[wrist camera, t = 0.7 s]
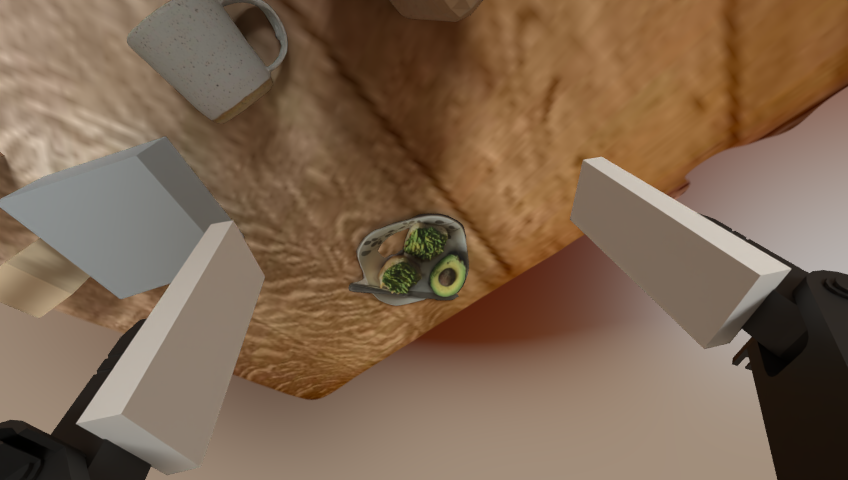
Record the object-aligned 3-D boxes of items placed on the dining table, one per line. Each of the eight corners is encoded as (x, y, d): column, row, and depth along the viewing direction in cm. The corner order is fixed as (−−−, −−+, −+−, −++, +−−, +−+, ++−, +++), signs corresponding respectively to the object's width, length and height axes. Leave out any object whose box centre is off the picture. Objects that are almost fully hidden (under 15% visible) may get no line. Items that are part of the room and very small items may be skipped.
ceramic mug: (231, 117, 33) (204, 140, 27) (155, 38, 28) (102, 44, 22) (310, 58, 32) (301, 68, 25) (244, -36, 27) (213, -52, 21)
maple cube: (19, 255, 38) (-30, 290, 33) (50, 230, 37) (5, 262, 32) (75, 283, 41) (39, 318, 37) (106, 261, 40) (72, 294, 35)
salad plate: (362, 313, 55) (363, 335, 51) (328, 232, 44) (325, 252, 40) (469, 287, 56) (477, 306, 52) (460, 201, 45) (470, 218, 41)
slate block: (45, 175, 34) (-7, 202, 29) (167, 135, 33) (136, 155, 29) (147, 267, 42) (120, 299, 37) (245, 235, 42) (231, 263, 37)
